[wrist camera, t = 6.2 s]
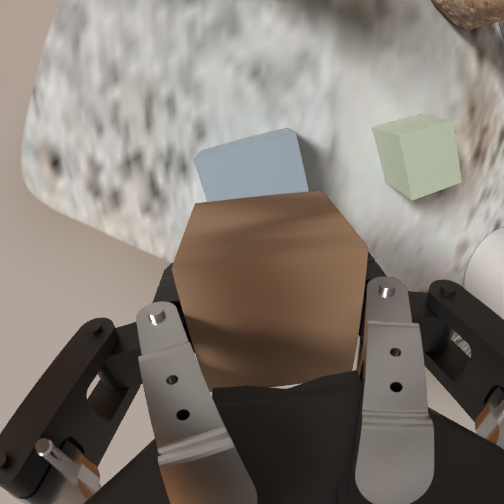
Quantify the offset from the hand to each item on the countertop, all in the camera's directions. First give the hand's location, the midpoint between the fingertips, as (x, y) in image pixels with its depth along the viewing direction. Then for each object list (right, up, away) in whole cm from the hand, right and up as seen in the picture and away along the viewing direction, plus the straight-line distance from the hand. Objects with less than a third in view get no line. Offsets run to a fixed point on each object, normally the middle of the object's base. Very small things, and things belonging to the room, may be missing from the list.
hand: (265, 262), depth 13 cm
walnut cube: (0, 0, +1) cm, 1 cm away
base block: (0, +6, +12) cm, 14 cm away
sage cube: (+12, +9, +11) cm, 19 cm away
